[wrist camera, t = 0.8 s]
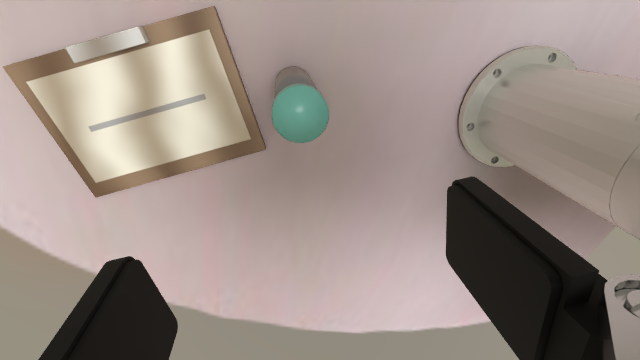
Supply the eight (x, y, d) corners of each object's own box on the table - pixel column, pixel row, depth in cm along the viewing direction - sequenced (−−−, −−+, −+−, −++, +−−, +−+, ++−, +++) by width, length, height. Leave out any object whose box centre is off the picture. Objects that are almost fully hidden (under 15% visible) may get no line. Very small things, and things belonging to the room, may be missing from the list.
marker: (305, 58, 28) (321, 79, 17) (314, 94, 30) (334, 134, 19) (269, 68, 28) (264, 95, 18) (281, 104, 30) (282, 149, 19)
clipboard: (214, 6, 25) (211, 5, 24) (266, 147, 32) (265, 153, 30) (8, 65, 26) (-8, 68, 24) (98, 194, 32) (90, 202, 30)
